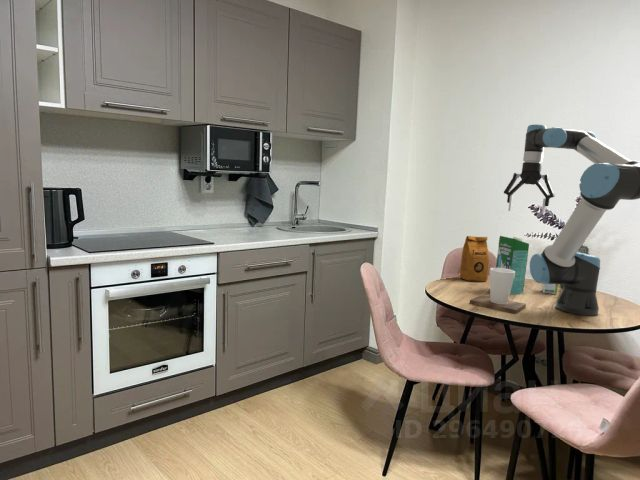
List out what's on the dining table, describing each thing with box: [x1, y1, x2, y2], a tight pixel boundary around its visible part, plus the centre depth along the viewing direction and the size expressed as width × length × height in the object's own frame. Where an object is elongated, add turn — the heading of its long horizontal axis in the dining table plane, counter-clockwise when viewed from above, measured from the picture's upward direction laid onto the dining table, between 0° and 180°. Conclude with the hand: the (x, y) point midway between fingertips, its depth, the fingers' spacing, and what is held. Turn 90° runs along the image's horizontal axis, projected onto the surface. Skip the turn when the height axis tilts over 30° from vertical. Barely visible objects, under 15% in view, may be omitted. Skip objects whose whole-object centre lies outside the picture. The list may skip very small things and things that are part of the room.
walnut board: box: [469, 294, 527, 315], centre depth 194 cm, size 18×13×2 cm
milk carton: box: [495, 235, 530, 295], centre depth 219 cm, size 9×9×25 cm
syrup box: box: [541, 284, 559, 295], centre depth 223 cm, size 6×6×14 cm
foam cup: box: [488, 267, 515, 304], centre depth 193 cm, size 10×9×13 cm
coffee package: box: [459, 235, 490, 282], centre depth 239 cm, size 10×12×22 cm
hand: (526, 212), depth 209 cm, fingers open, 13 cm apart
